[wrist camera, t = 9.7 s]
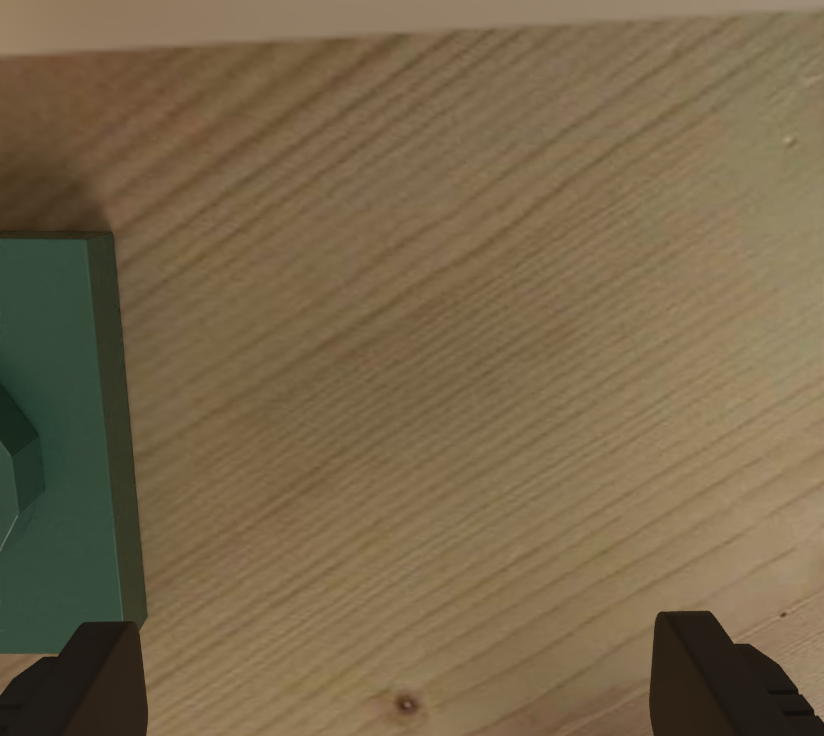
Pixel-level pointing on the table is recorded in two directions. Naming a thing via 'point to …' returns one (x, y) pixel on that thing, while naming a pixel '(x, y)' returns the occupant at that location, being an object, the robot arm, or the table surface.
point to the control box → (64, 444)
